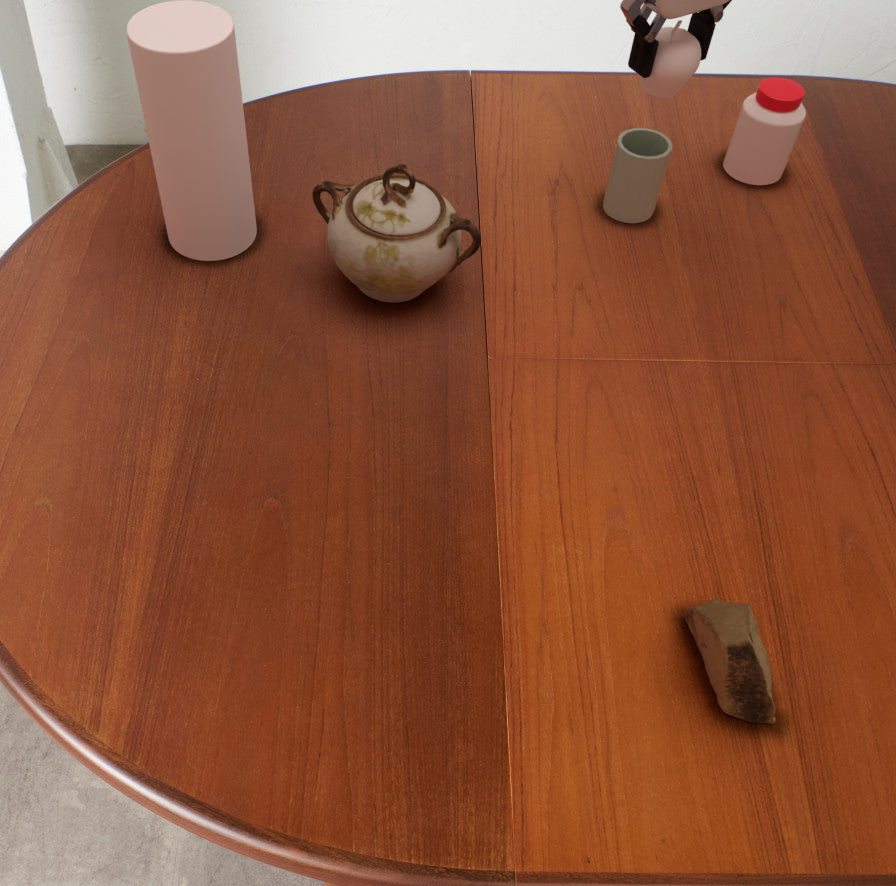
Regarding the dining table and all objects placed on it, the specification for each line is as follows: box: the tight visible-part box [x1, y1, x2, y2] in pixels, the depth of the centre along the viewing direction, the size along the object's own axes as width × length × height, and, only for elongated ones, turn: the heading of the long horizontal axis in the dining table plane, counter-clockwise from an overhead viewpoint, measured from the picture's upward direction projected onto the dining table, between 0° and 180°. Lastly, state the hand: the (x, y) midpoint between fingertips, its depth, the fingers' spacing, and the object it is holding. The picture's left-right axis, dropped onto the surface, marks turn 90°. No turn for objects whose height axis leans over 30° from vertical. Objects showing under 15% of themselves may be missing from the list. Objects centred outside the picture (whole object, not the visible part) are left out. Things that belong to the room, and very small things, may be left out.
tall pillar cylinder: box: [125, 0, 258, 262], centre depth 104 cm, size 11×11×25 cm
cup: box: [602, 127, 673, 224], centre depth 115 cm, size 6×6×9 cm
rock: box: [683, 598, 777, 725], centre depth 78 cm, size 11×9×10 cm
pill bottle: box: [722, 76, 807, 186], centre depth 120 cm, size 8×8×11 cm
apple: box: [636, 19, 702, 99], centre depth 103 cm, size 7×7×8 cm
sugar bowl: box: [311, 163, 482, 304], centre depth 103 cm, size 20×15×15 cm
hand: (666, 62), depth 103 cm, fingers closed on apple, 7 cm apart
